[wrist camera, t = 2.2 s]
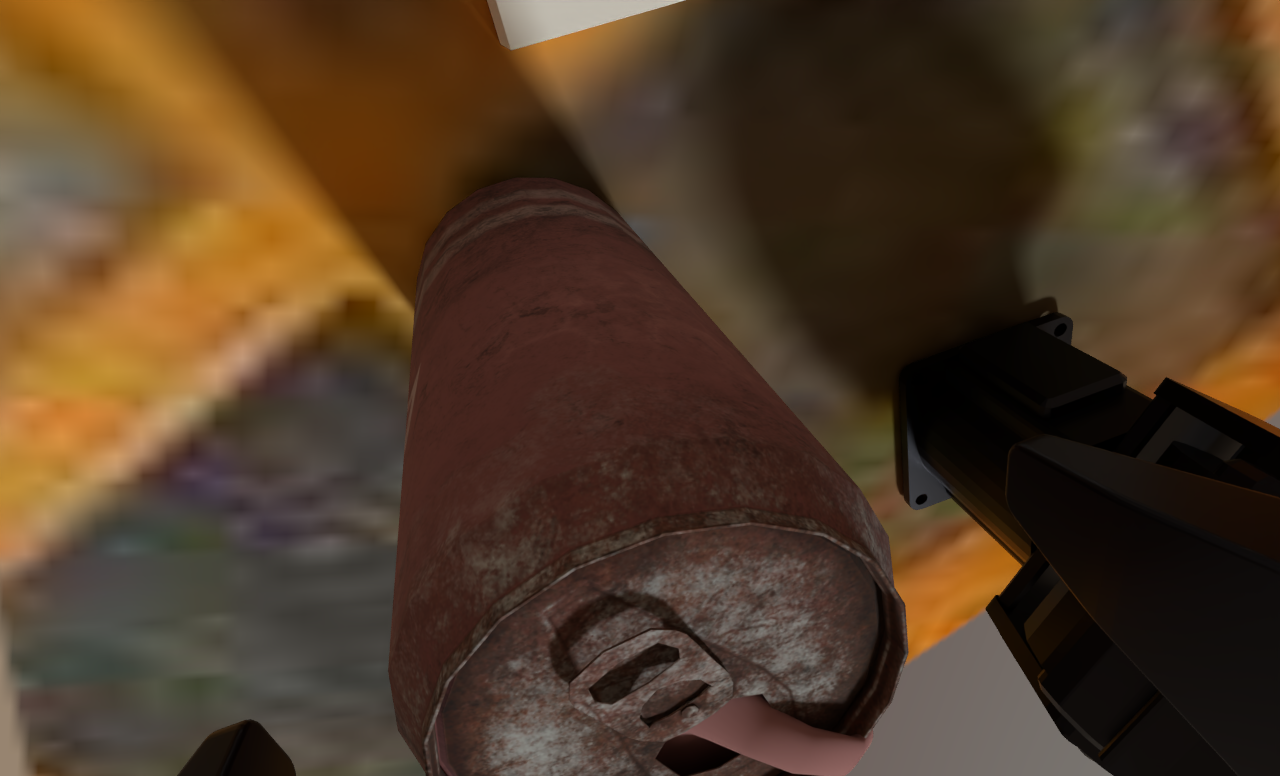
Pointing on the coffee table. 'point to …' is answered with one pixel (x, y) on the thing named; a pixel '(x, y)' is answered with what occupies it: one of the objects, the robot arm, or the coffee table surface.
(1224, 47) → the coffee table surface
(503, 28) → the tray
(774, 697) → the can
